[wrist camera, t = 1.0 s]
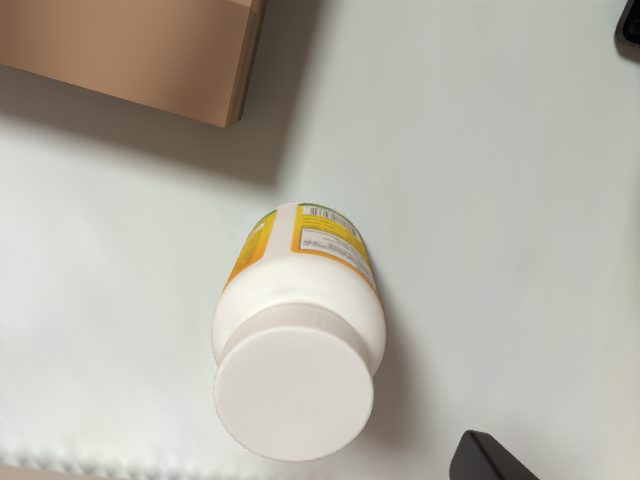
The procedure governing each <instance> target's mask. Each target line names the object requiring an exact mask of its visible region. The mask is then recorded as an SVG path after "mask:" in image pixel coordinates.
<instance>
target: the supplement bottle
mask: <svg viewBox="0 0 640 480" xmlns="http://www.w3.org/2000/svg"><path fill="white" fill-rule="evenodd" d="M385 344H386V323H385V318H384V313H383V309H382V305H381V302H380V299H379V295H378V291H377V288H376V284H375V281H374V277H373V274H372V270H371V265H370V262H369V259H368V255H367V252H366V248H365V245H364V242H363V239H362V237H361V235H360V233H359V231H358V230H357V228H356V227H355V225H354V224H353V223H352V222H351V221H350V220H349V219H348V218H347V217H346V216H345V215H344V214H342V213H341V212H339V211H338V210H336V209H334V208H332V207H330V206H328V205H325V204H322V203H318V202H311V201H299V202H292V203H287V204H284V205H281V206H279V207H277V208H275V209H273V210H271V211H270V212H268V213H267V214H265V215H264V216H263V217H262V218H261V219H260V220H259V221H258V222H257V224H256V225H255V226H254V228H253V229H252V230H251V232H250V234H249V236H248V238H247V240H246V242H245V244H244V246H243V248H242V251H241V253H240V255H239V257H238V259H237V261H236V264H235V266H234V268H233V270H232V272H231V274H230V277H229V279H228V281H227V283H226V285H225V287H224V290H223V292H222V294H221V296H220V298H219V300H218V303H217V305H216V308H215V311H214V315H213V319H212V325H211V345H212V351H213V354H214V358H215V361H216V363H217V365H218V369H217V372H216V375H215V380H214V393H213V396H214V404H215V408H216V412H217V414H218V417H219V419H220V421H221V423H222V424H223V426H224V428H225V429H226V430H227V432H228V433H229V434H230V435H231V436H232V437H233V438H234V439H235V440H236V441H237V442H238V443H240V444H241V445H242V446H243V447H245V448H246V449H248V450H249V451H251V452H254V453H256V454H258V455H260V456H263V457H265V458H269V459H273V460H277V461H285V462H306V461H312V460H317V459H320V458H323V457H326V456H329V455H331V454H333V453H336V452H338V451H339V450H341V449H342V448H344V447H345V446H347V445H348V444H349V443H350V442H351V441H352V440H353V439H355V438H356V437H357V436H358V435H359V434H360V432H361V431H362V430H363V428H364V427H365V425H366V423H367V421H368V419H369V417H370V414H371V411H372V407H373V401H374V386H373V377H374V375H375V373H376V372H377V370H378V368H379V366H380V364H381V361H382V358H383V355H384V351H385Z"/></svg>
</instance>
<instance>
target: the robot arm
mask: <svg viewBox="0 0 640 480" xmlns="http://www.w3.org/2000/svg"><path fill="white" fill-rule="evenodd" d="M632 22H634V23H635V24H636V30H635V32H634V33H633V34H631V33H630V31H629V27H630V24H631V23H632ZM616 36H617V38H618V39H619V40H620V41H621V42H623V43H626V44H629V45H632V46H635V47H638V48H640V0H628V2H627V4H626V6H625V8H624V11H623V13H622V15H621V17H620V19H619V22H618V24H617V27H616ZM449 476H450V480H539V479H538V478H537V477H536V476H535V475H534V474H533V473H532V472H531V471H529V470H528V469H527V468H526V467H525V466H524V465H523V464H522V463H521V462H520V461H518V460H517V459H516V458H515V457H514V456H513V455H512V454H511V453H510V452H509V451H507V450H506V449H505V448H504V447H503V446H502V445H501V444H500V443H499V442H498V441H496V440H495V439H494V438H493V437H492V436H491V435H490V434H488V433H484V432H479V431H474V430H467V431H466V432H465V433H464V434H463V436H462V438H461V440H460V442H459V445H458V447H457V449H456V452H455V454H454V456H453V459H452V461H451V464H450V470H449Z"/></svg>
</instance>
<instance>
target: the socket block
mask: <svg viewBox="0 0 640 480" xmlns="http://www.w3.org/2000/svg"><path fill="white" fill-rule="evenodd" d="M266 4H267V0H0V64H3V65H7V66H10V67H14V68H17V69H21V70H24V71H27V72H31V73H34V74H38V75H41V76H45V77H48V78H52V79H55V80H59V81H62V82H66V83H69V84H73V85H76V86H80V87H83V88H87V89H90V90H94V91H97V92H101V93H104V94H108V95H111V96H115V97H118V98H122V99H125V100H129V101H132V102H136V103H139V104H142V105H146V106H149V107H153V108H156V109H160V110H163V111H167V112H170V113H174V114H177V115H181V116H184V117H188V118H191V119H195V120H198V121H202V122H205V123H209V124H212V125H216V126H219V127H223V128H225V127H227V126H229V125H231V124H233V123H235V122H237V121H239V120H241V115H242V111H243V106H244V102H245V97H246V93H247V89H248V84H249V80H250V75H251V71H252V66H253V62H254V57H255V53H256V49H257V44H258V40H259V35H260V31H261V26H262V22H263V17H264V13H265V9H266Z"/></svg>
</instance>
